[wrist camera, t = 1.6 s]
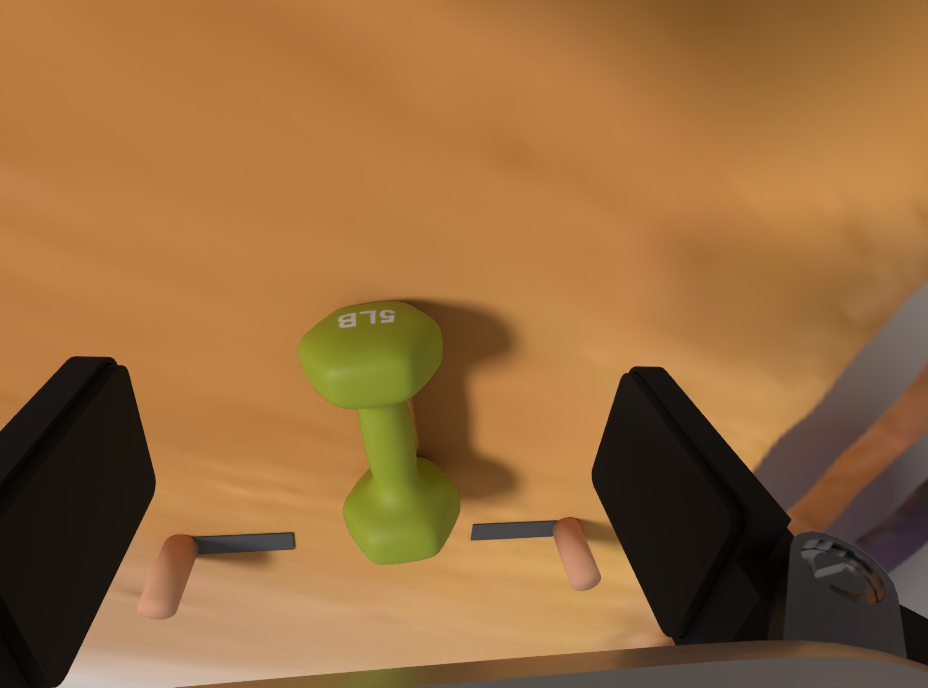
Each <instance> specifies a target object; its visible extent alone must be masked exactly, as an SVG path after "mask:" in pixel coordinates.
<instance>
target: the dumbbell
mask: <svg viewBox="0 0 928 688" xmlns="http://www.w3.org/2000/svg"><path fill="white" fill-rule="evenodd" d="M298 354H299V358H300V362H301V366H302V369H303V371H304V373H305V375H306V377H307V379H308V381H309V382H310V383H311V385H312V386H313V387H314V388H315V389H316V390H317V391H318V393H319V394H320V395H321V396H322V397H324V398H325V399H326V400H327V401H328V402H330V403H331V404H333V405H335V406H337V407H340V408H344V409H358V415H359V423H360V429H361V434H362V439H363V444H364V448H365V452H366V456H367V460H368V464H369V467H370V469H369V470H368V471H366V472H365V474H364V475H363V476H362V477H361V478H360V479H359V481H358V482H357V483H356V484H355V486H354V487H353V489H352V490H351V492H350V493H349V495H348V497H347V498H346V500H345V503H344V506H343V516H344V520H345V524H346V527H347V529H348V531H349V533H350V535H351V536H352V538H353V540H354V541H355V542H356V544H357V545H358V547H359V548H360V549H361V551H362V552H363V553H364V554H365V555H366V557H367V558H368V559H369V560H370V561H372V562H374V563H376V564H380V565H393V564H401V563H407V562H413V561H419V560H424V559H427V558H431V557H433V556H435V555H436V554H437V553H439V552H440V550H441V549H442V547H443V546H444V544H445V542H446V541H447V539H448V537H449V535H450V533H451V531H452V529H453V527H454V525H455V523H456V521H457V518H458V516H459V513H460V497H459V493H458V490H457V487H456V486H455V484H454V483H453V482H452V480H451V479H450V478H449V477H448V476H447V475H446V474H445V473H444V472H443V471H442V470H441V469H440V468H438V467H437V466H436V465H435V464H434V463H433V462H431V461H430V460H428V459H426V458H423V457H417V455H416V444H415V435H414V429H413V424H412V419H411V414H410V410H409V406H408V403H407V400H408V399H410V398H411V397H413V396H414V395H415V394H417V393H418V392H419V391H420V390H421V389H422V388H423V387H424V386H425V385H426V383H427V382H428V381H429V380H430V379H431V377H432V376H433V375H434V374H435V372H436V371H437V369H438V368H439V366H440V364H441V361H442V358H443V339H442V332H441V329H440V327H439V325H438V324H437V323H436V321H434V320H433V319H432V318H431V317H430V316H428V315H427V314H425V313H423V312H422V311H420V310H418V309H417V308H415V307H413V306H411V305H409V304H407V303H404V302H399V301H384V302H375V303H367V304H359V305H352V306H347V307H344V308H341V309H338V310H336V311H334V312H333V313H331V314H329V315H328V316H327V317H326V318H324V319H323V320H322V321H320V322H319V323H318V324H317V325H315V326H314V327H313V328H312V329H310V330H309V331H308V332H307V333H306V334H305V335H304V337H303V338H302V339H301V341H300V343H299V345H298Z"/></svg>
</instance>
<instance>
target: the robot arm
mask: <svg viewBox="0 0 928 688" xmlns="http://www.w3.org/2000/svg"><path fill="white" fill-rule="evenodd" d="M592 482H593V485H594V488H595V490H596V492H597V494H598V496H599V499H600V501H601V503H602V505H603V507H604V509H605V511H606V513H607V516H608V518H609V520H610V522H611V524H612V526H613V528H614V530H615V533H616V535H617V537H618V539H619V541H620V543H621V545H622V547H623V550H624V552H625V554H626V556H627V558H628V560H629V562H630V564H631V567H632V569H633V571H634V573H635V575H636V577H637V579H638V581H639V584H640V586H641V588H642V590H643V592H644V594H645V596H646V598H647V601H648V603H649V605H650V607H651V609H652V611H653V613H654V615H655V618H656V620H657V622H658V624H659V626H660V628H661V630H662V631H663V633H664V634H665V635H666V636H668V637H672V639H673V641H674V643H675V645H676V646H662V647H649V648H637V649H624V650H611V651H599V652H586V653H573V654H561V655H548V656H535V657H523V658H511V659H499V660H487V661H475V662H463V663H451V664H439V665H427V666H415V667H403V668H392V669H380V670H368V671H357V672H345V673H333V674H322V675H310V676H299V677H288V678H277V679H266V680H254V681H243V682H232V683H221V684H210V685H199V686H188V687H177V688H928V619H927V618H925V617H923V616H921V615H919V614H917V613H916V612H914V611H912V610H909V609H908V608H906V607H904V606H902V605H900V604H899V599H898V594H897V591H896V588H895V586H894V583H893V581H892V580H891V579H890V577H889V576H888V574H887V573H886V571H885V570H884V569H883V568H882V567H881V566H880V565H879V564H878V563H877V562H876V561H875V560H874V559H873V558H872V557H870V556H869V555H867V554H866V553H865V552H863V551H862V550H860V549H859V548H858V547H856V546H854V545H852V544H850V543H849V542H847V541H845V540H843V539H841V538H838V537H835V536H832V535H829V534H827V533H821V532H814V531H810V532H802V533H800V534H798V535H797V536H795V537H794V536H793V534H792V533H791V532H790V531H789V530H788V528H787V526H788V525H789V523H790V521H791V518H790V517H789V516H788V515H787V514H786V512H785V511H784V510H783V509H782V508H781V507H780V505H779V504H778V503H777V502H776V501H775V500H774V498H773V497H772V496H771V495H770V493H769V492H768V491H767V490H766V489H765V488H764V486H763V485H762V484H761V483H760V482H759V480H758V479H757V478H756V477H755V476H754V474H753V473H752V472H751V471H750V470H749V469H748V467H747V466H746V465H745V464H744V463H743V461H742V460H741V459H740V458H739V457H738V455H737V454H736V453H735V452H734V451H733V450H732V448H731V447H730V446H729V445H728V444H727V442H726V441H725V440H724V439H723V438H722V437H721V435H720V434H719V433H718V432H717V431H716V429H715V428H714V427H713V426H712V425H711V423H710V422H709V421H708V420H707V419H706V418H705V416H704V415H703V414H702V413H701V412H700V410H699V409H698V408H697V407H696V406H695V404H694V403H693V402H692V401H691V400H690V399H689V397H688V396H687V395H686V394H685V393H684V391H683V390H682V389H681V388H680V387H679V385H678V384H677V383H676V382H675V381H674V380H673V378H672V377H671V376H670V375H669V374H668V372H667V371H666V370H665V369H664V368H662V367H639V366H635V367H633V368H632V369H631V370H630V371H629V373H625V374H624V375H623V376H622V377H621V380H620V383H619V386H618V389H617V392H616V395H615V398H614V402H613V405H612V408H611V411H610V414H609V417H608V421H607V424H606V427H605V430H604V433H603V436H602V439H601V443H600V446H599V449H598V452H597V455H596V458H595V462H594V465H593V468H592ZM155 485H156V479H155V474H154V470H153V466H152V462H151V458H150V454H149V450H148V446H147V442H146V438H145V434H144V431H143V427H142V423H141V419H140V415H139V411H138V407H137V403H136V399H135V395H134V391H133V387H132V384H131V380H130V376H129V372H128V370H127V368H126V367H125V366H123V365H117V362H116V361H115V360H114V359H113V358H111V357H84V356H75V357H71V358H70V359H68V360H67V361H66V362H65V363H64V364H63V365H62V366H61V367H60V369H59V370H58V371H57V372H56V373H55V374H54V375H53V376H52V377H51V378H50V379H49V380H48V381H47V382H46V383H45V384H44V385H43V387H42V388H41V389H40V390H39V391H38V392H37V393H36V394H35V395H34V396H33V397H32V398H31V399H30V400H29V401H28V402H27V403H26V405H25V406H24V407H23V408H22V409H21V410H20V411H19V412H18V413H17V414H16V415H15V416H14V417H13V418H12V419H11V420H10V421H9V423H8V424H7V425H6V426H5V427H4V428H3V429H2V430H1V431H0V688H56V687H57V686H59V685H60V684H61V683H62V682H63V680H64V679H65V677H66V675H67V674H68V672H69V669H70V667H71V665H72V663H73V661H74V659H75V657H76V655H77V653H78V651H79V649H80V647H81V645H82V643H83V641H84V638H85V636H86V634H87V632H88V630H89V628H90V626H91V624H92V622H93V620H94V618H95V616H96V614H97V612H98V610H99V607H100V605H101V603H102V601H103V599H104V597H105V595H106V593H107V591H108V589H109V587H110V585H111V583H112V581H113V579H114V576H115V574H116V572H117V570H118V568H119V566H120V564H121V562H122V560H123V558H124V556H125V554H126V552H127V550H128V548H129V545H130V543H131V541H132V539H133V537H134V535H135V533H136V531H137V529H138V527H139V525H140V523H141V521H142V519H143V517H144V515H145V512H146V510H147V508H148V506H149V504H150V502H151V500H152V498H153V495H154V492H155Z"/></svg>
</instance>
